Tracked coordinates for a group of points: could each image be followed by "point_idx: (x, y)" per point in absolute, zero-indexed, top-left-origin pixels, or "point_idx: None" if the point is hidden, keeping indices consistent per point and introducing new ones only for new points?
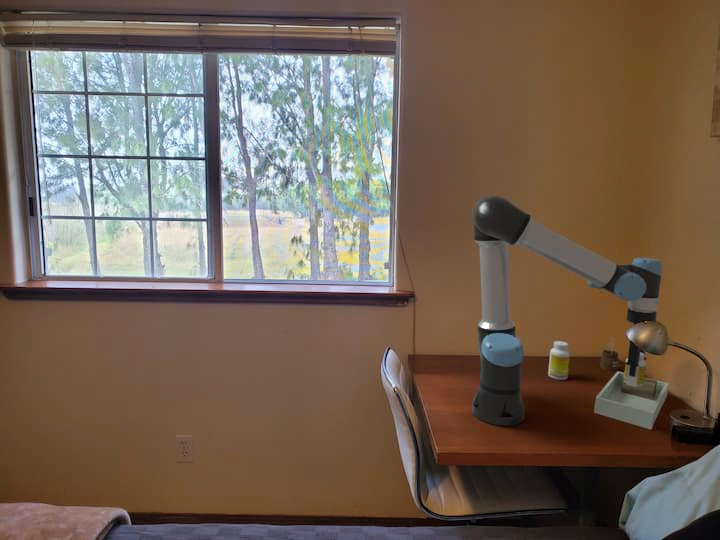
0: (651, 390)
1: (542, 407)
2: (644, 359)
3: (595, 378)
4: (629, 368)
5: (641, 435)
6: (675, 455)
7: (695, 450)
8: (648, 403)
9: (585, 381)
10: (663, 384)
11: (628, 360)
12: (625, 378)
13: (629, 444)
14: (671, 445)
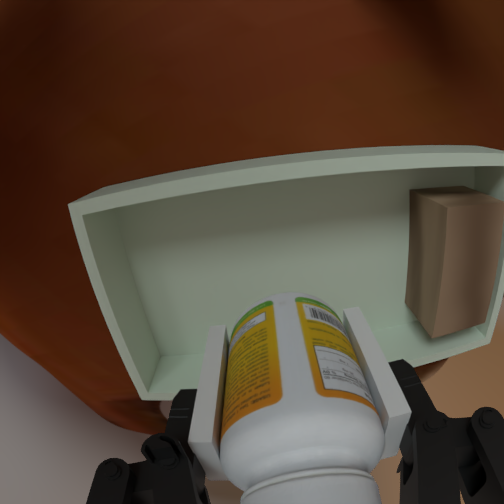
0: (421, 317)
1: (10, 59)
2: (399, 466)
3: (477, 62)
4: (196, 421)
5: (98, 347)
6: (89, 406)
7: (151, 430)
8: (362, 304)
9: (418, 30)
10: (483, 330)
11: (94, 492)
12: (241, 328)
13: (34, 335)
14: (122, 400)
